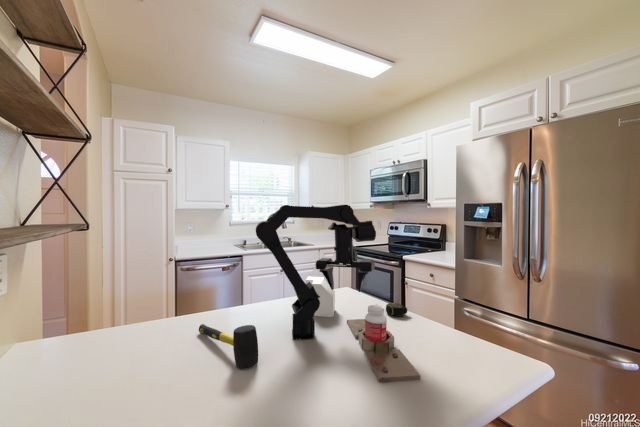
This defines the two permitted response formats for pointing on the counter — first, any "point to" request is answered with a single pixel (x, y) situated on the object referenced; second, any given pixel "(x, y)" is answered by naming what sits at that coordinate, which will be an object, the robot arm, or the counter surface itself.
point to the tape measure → (395, 309)
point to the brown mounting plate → (383, 355)
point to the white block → (323, 296)
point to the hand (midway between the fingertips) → (345, 290)
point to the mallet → (238, 343)
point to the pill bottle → (375, 323)
